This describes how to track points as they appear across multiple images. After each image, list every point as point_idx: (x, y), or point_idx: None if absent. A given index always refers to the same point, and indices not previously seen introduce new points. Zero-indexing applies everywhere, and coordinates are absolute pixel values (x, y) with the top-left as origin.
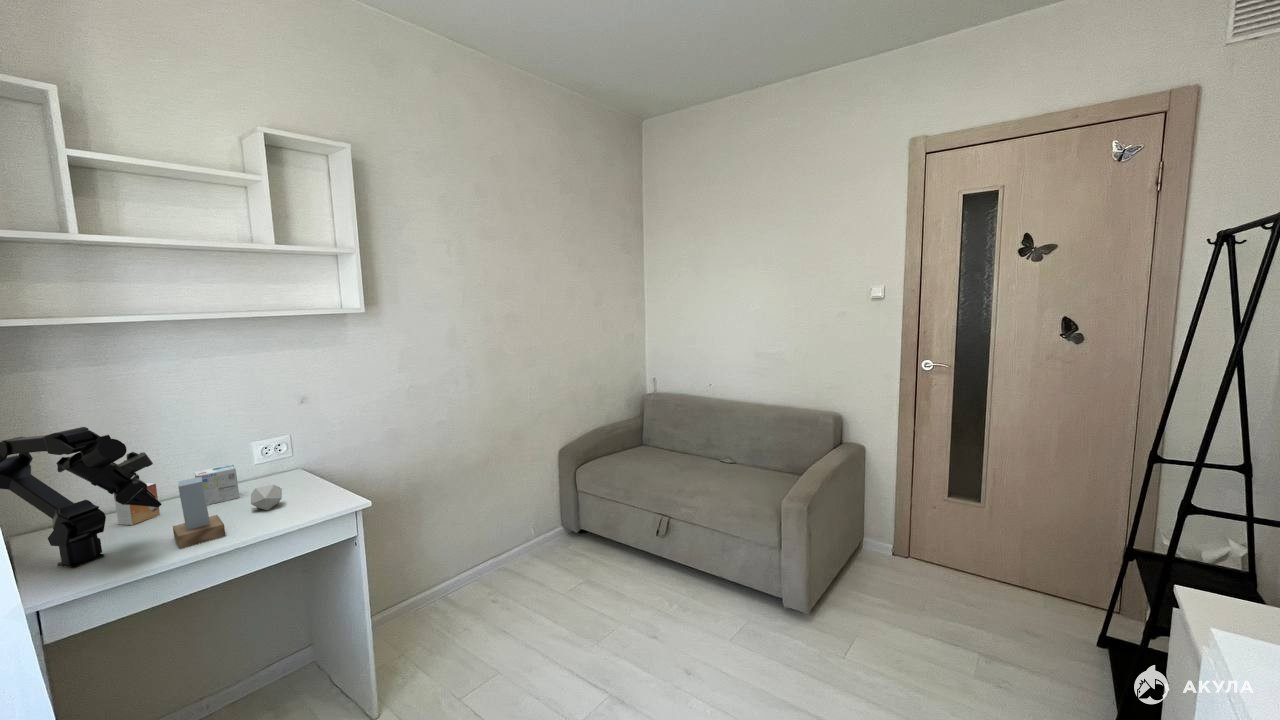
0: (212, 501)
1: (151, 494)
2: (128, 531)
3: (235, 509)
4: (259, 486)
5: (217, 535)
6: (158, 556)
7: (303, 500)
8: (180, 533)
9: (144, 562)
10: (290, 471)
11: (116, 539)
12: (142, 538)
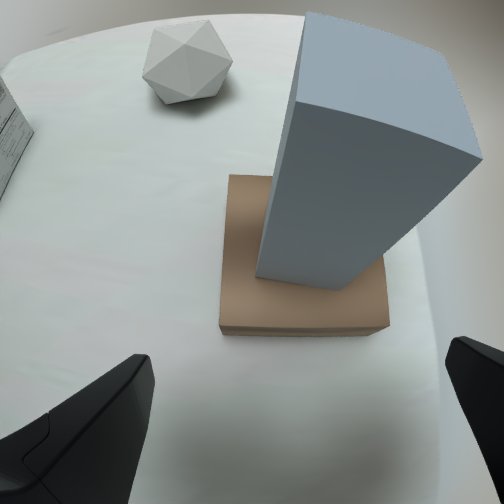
0: (3, 180)
1: (138, 380)
2: (10, 412)
3: (112, 144)
4: (182, 37)
5: None
6: (382, 396)
7: None
8: (359, 314)
9: (399, 431)
10: (8, 64)
11: None
12: None
